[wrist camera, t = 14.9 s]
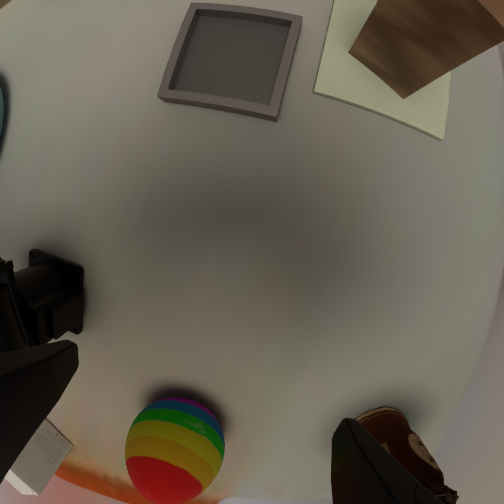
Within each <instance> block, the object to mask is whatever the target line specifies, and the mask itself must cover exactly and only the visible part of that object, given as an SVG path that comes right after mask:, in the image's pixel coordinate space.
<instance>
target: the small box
mask: <svg viewBox="0 0 504 504" xmlns="http://www.w3.org/2000/svg"><path fill="white" fill-rule="evenodd" d="M72 447H73V445H72V444H71V443H70V442H69V441H68V440H67V439H66V438H65V437H64V436H63V435H61V434H60V433H59V432H58V431H57V430H56V429H55V428H54V427H53V426H52V425H51V424H50V423H49V422H48V421H47V420H46V419H44V421H43V422H42V424H41V425H40V426H39V428H38V429H37V431H36V432H35V433H34V435H33V436H32V438H31V439H30V440H29V442H28V443H27V445H26V446H25V448H24V449H23V450H22V452H21V453H20V455H19V456H18V458H17V459H16V461H15V462H14V464H13V465H12V467H11V468H10V470H9V471H8V473H7V474H6V476H5V477H4V478H5V479H6V480H7V481H8V482H10V483H11V484H12V485H13V486H14V487H15V488H16V489H17V490H18V491H20V492H21V493H22V494H23V495H40V494H41V492H42V491H43V489H44V488H45V486H46V485H47V483H48V482H49V480H50V479H51V477H52V476H53V475H54V473H55V472H56V470H57V469H58V467H59V466H60V465H61V463H62V462H63V460H64V459H65V457H66V456H67V454H68V453H69V451H70V450H71V448H72Z"/></svg>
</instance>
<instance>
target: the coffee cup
mask: <svg viewBox="0 0 504 504" xmlns="http://www.w3.org/2000/svg"><path fill="white" fill-rule="evenodd" d="M356 420H357V421H358V422H359V423H360V424H361V425H362V426H363V427H364V428H365V429H366V430H367V431H368V432H369V433H370V434H371V435H372V436H373V437H374V438H375V439H376V440H377V441H378V442H379V443H380V444H381V445H382V446H383V447H384V448H385V449H386V450H387V451H388V452H389V453H390V454H391V455H392V456H393V457H394V458H395V459H396V460H397V461H398V462H399V463H400V464H401V465H402V466H403V467H404V468H405V469H406V470H407V471H408V472H409V473H410V474H411V475H413V476H414V477H415V478H416V479H417V481H419V482H420V483H421V484H422V485H423V486H424V487H425V488H426V489H427V490H429V491H430V492H431V493H432V494H433V495H434V496H435V497H437V498H438V499H439V500H441V501H442V502H443V503H444V504H456V501H457V499H458V498H459V496H457V491H454V490H452V489H450V488H449V487H448V486H446V485H444V477H443V473H442V472H441V470H440V468H439V467H438V465H437V463H436V462H435V460H434V458H433V457H432V456H431V454H430V453H429V452H428V450H427V448H426V447H425V445H424V444H423V442H422V441H421V439H420V437H419V436H418V435H417V434H416V433H415V432H413V431H412V430H411V429H410V427H409V425H408V421H407V420H406V418H405V417H404V415H403V413H401V412H400V411H398V410H397V409H392V408H387V407H382V408H379V409H376V410H371V411H369V412H367V413H364V414H362V415H360V416H359V417H358V418H356Z"/></svg>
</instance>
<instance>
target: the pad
mask: <svg viewBox="0 0 504 504" xmlns="http://www.w3.org/2000/svg"><path fill="white" fill-rule="evenodd" d="M376 3H377V1H375V0H334V3H333V8H332V13H331V17H330V22H329V26H328V31H327V35H326V40H325V44H324V49H323V53H322V57H321V62H320V66H319V70H318V75H317V79H316V83H315V87H314V92H313V93H314V94H318V95H322V96H325V97H328V98H332V99H335V100H338V101H341V102H345V103H348V104H351V105H354V106H357V107H360V108H362V109H365V110H368V111H371V112H374V113H376V114H379V115H382V116H384V117H387V118H389V119H392V120H394V121H397V122H399V123H402V124H404V125H407V126H409V127H411V128H414V129H416V130H418V131H420V132H423V133H425V134H427V135H429V136H431V137H433V138H435V139H438V140H440V141H441V140H443V139H444V133H445V126H446V118H447V110H448V100H449V89H450V74H451V71H449V72H448V73H446V74H444V75H443V76H441V77H439V78H438V79H436V80H434V81H433V82H431V83H429V84H428V85H426V86H424V87H423V88H421V89H419V90H418V91H416V92H415V93H413V94H411V95H410V96H408V97H407V98H405V99H402V98H401V97H400V96H399V95H398V94H397V93H396V92H395V91H394V90H393V89H392V88H390V87H389V86H388V85H387V84H386V83H385V82H384V81H382V80H381V79H380V78H379V77H378V76H377V75H375V74H374V73H373V72H372V71H371V70H369V69H368V68H367V67H366V66H364V65H363V64H362V63H361V62H359V61H358V60H357V59H355V58H354V57H353V56H352V55H350V54H349V53H348V52H349V50H350V49H351V47H352V45H353V43H354V41H355V40H356V38H357V36H358V34H359V33H360V31H361V29H362V27H363V26H364V24H365V22H366V20H367V19H368V17H369V15H370V13H371V12H372V10H373V8H374V6H375V5H376Z"/></svg>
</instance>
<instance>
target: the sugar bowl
mask: <svg viewBox="0 0 504 504" xmlns="http://www.w3.org/2000/svg"><path fill="white" fill-rule="evenodd" d="M3 119H4V100H3V95H2V91H1V87H0V138H1V133H2V127H3Z"/></svg>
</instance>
